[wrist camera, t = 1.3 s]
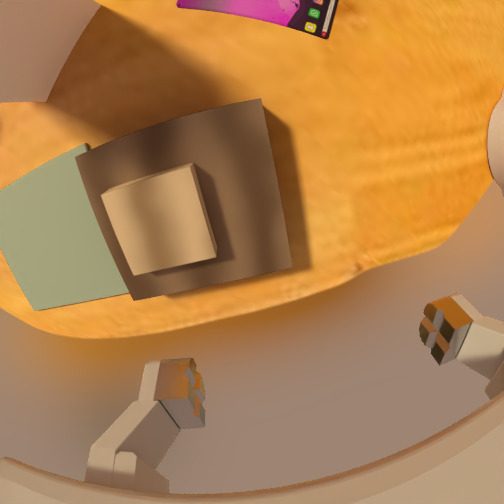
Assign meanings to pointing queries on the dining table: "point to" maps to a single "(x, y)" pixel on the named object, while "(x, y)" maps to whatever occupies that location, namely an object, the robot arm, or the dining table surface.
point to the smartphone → (276, 12)
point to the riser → (212, 188)
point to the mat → (56, 237)
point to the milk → (38, 44)
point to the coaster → (161, 220)
